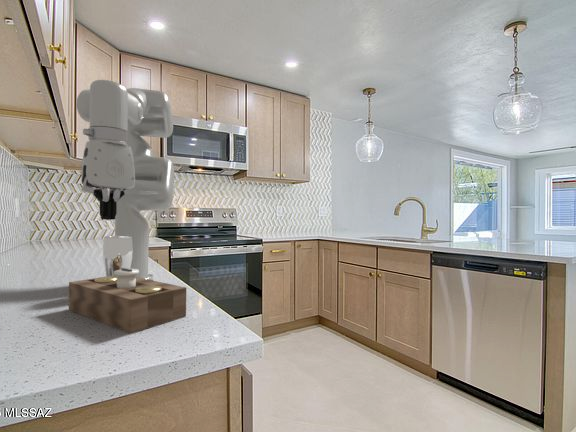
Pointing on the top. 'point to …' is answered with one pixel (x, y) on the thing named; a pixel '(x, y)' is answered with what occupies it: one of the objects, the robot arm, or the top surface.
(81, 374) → the top surface
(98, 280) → the brass knob
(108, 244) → the beer glass
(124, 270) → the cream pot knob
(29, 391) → the top surface
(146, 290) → the brass knob
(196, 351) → the top surface
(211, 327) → the top surface
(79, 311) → the block
